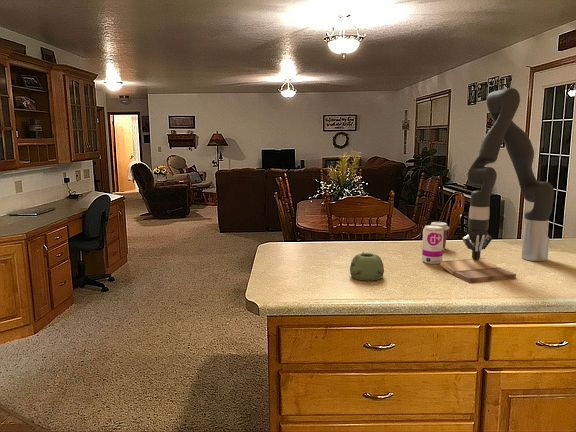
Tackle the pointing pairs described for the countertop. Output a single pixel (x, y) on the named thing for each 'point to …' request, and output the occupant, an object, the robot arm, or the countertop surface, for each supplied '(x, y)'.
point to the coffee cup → (443, 229)
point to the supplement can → (432, 244)
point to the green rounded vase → (367, 267)
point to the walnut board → (484, 274)
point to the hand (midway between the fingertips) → (475, 259)
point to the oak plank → (467, 265)
